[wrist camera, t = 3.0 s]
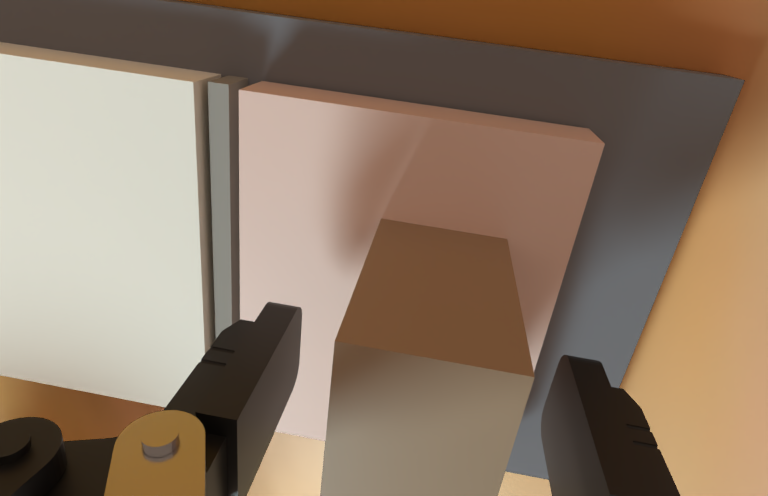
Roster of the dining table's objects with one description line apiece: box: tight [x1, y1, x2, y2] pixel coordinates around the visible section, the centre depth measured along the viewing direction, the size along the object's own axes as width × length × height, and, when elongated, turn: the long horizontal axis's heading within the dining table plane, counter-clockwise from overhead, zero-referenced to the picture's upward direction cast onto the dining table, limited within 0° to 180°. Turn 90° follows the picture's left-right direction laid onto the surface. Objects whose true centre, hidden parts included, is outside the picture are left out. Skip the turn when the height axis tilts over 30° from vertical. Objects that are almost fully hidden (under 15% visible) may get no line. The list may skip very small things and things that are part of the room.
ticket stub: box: [239, 81, 605, 496], centre depth 12 cm, size 8×10×6 cm
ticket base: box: [0, 0, 745, 480], centre depth 15 cm, size 24×13×2 cm, turn 84°
